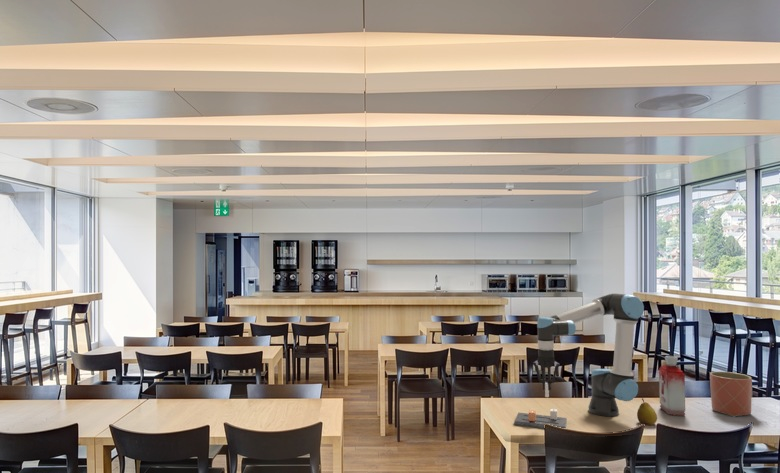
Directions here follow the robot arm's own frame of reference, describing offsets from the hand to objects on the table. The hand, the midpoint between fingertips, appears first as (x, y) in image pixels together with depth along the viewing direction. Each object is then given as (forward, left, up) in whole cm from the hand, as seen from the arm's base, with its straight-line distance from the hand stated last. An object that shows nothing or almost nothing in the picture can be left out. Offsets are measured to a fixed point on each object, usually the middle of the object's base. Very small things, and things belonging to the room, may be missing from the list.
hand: (547, 396), depth 250 cm
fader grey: (-3, -7, -12) cm, 14 cm away
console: (+3, -3, -15) cm, 15 cm away
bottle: (-62, -51, -15) cm, 81 cm away
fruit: (-47, -24, -15) cm, 54 cm away
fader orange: (+7, 0, -12) cm, 14 cm away
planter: (-92, -63, -15) cm, 112 cm away
